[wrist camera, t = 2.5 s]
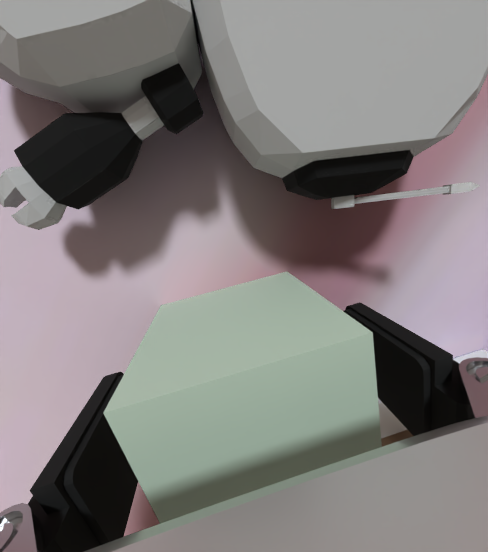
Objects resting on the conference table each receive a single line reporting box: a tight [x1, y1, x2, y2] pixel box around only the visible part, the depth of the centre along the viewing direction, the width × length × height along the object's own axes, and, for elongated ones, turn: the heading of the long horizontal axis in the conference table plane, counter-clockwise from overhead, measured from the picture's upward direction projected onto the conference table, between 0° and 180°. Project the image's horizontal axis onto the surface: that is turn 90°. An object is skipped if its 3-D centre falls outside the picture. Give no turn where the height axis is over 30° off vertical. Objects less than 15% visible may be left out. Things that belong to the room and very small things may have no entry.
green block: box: [103, 272, 382, 524], centre depth 9 cm, size 6×6×6 cm
